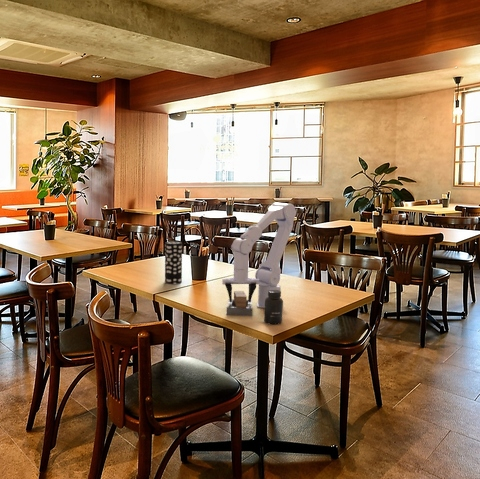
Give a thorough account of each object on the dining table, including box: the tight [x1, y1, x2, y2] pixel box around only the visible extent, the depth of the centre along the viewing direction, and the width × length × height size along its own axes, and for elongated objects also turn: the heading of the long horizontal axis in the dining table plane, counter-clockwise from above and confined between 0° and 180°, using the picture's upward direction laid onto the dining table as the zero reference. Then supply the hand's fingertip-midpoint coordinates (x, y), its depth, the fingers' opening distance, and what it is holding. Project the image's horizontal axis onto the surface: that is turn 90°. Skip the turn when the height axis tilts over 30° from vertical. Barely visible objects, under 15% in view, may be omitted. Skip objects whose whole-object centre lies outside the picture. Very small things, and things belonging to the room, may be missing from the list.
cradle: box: [226, 298, 253, 317], centre depth 188 cm, size 10×12×3 cm
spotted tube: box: [164, 241, 183, 285], centre depth 232 cm, size 8×8×20 cm
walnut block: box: [233, 290, 248, 307], centre depth 188 cm, size 9×4×6 cm, turn 7°
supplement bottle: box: [263, 290, 284, 326], centre depth 174 cm, size 7×7×12 cm
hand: (240, 301), depth 188 cm, fingers open, 7 cm apart
